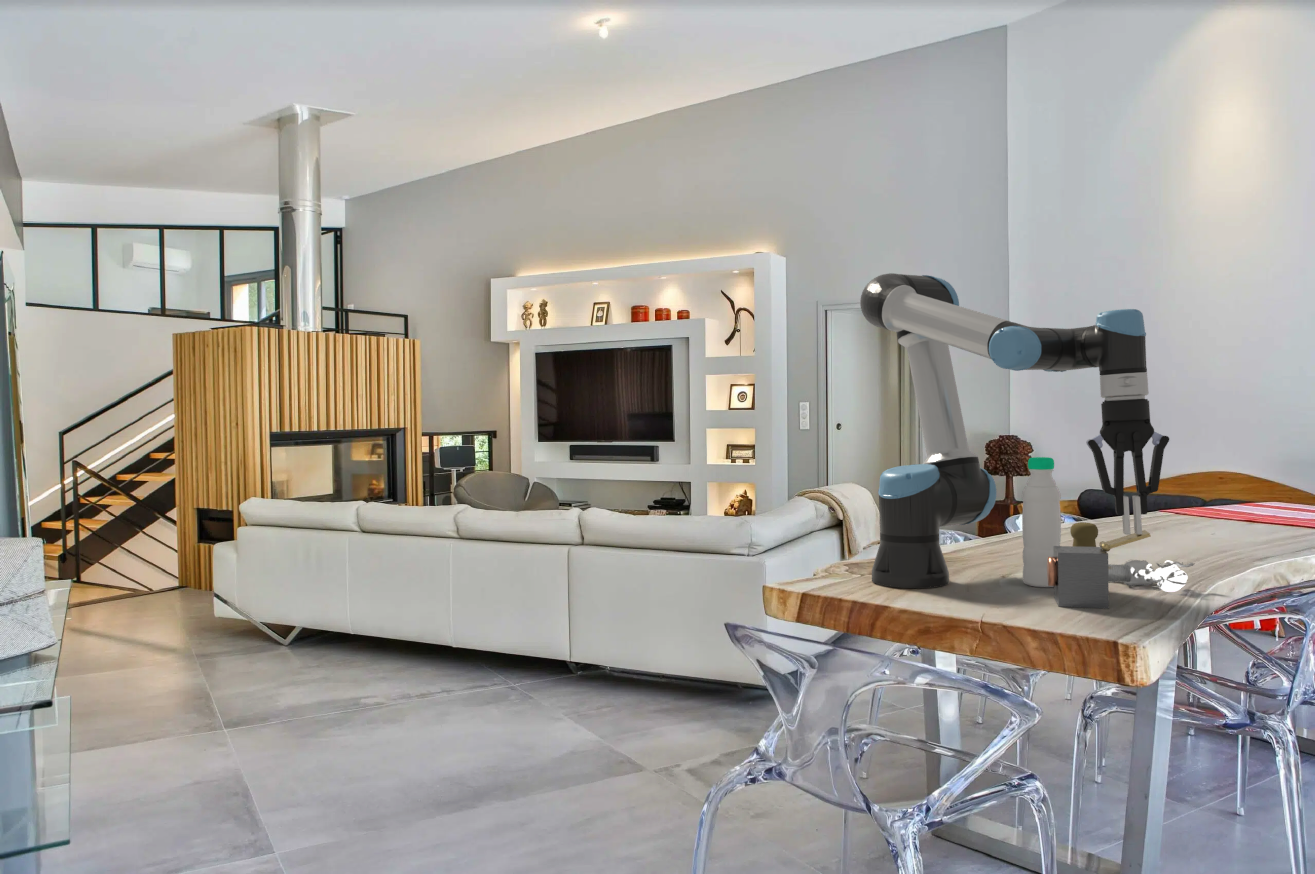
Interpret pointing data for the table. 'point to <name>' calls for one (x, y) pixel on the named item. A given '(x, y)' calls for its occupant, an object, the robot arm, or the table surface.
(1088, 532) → the cork
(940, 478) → the robot arm
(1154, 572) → the figurine
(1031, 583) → the water bottle
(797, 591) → the table surface
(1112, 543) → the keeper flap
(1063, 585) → the block
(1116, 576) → the pin
